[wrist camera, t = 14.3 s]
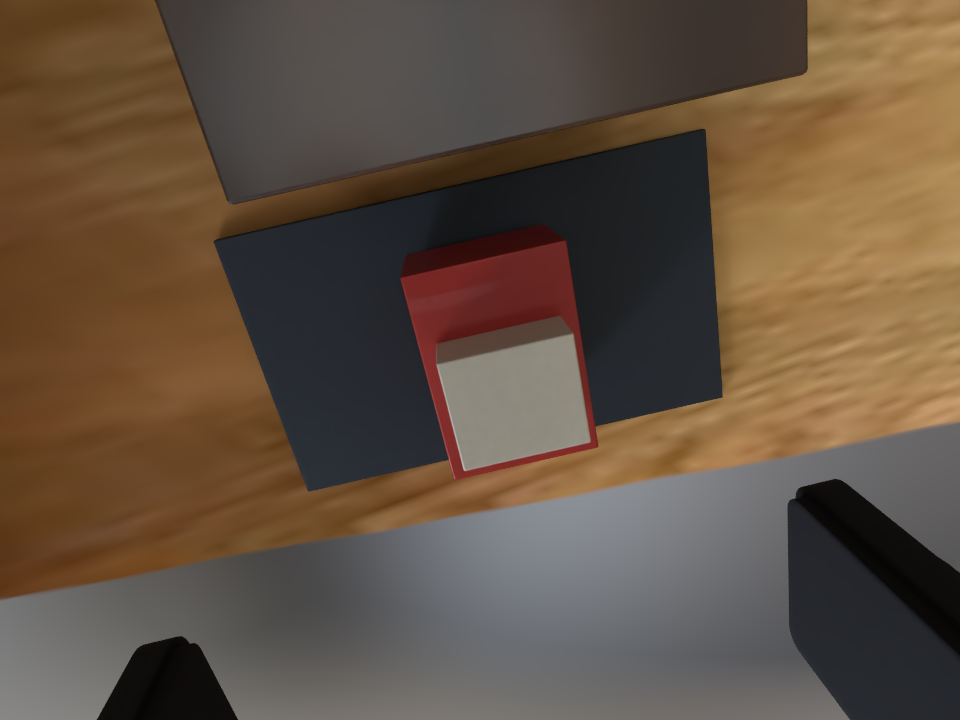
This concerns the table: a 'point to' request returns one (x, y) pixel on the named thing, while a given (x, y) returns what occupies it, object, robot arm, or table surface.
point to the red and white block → (502, 349)
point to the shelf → (449, 74)
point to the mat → (463, 217)
